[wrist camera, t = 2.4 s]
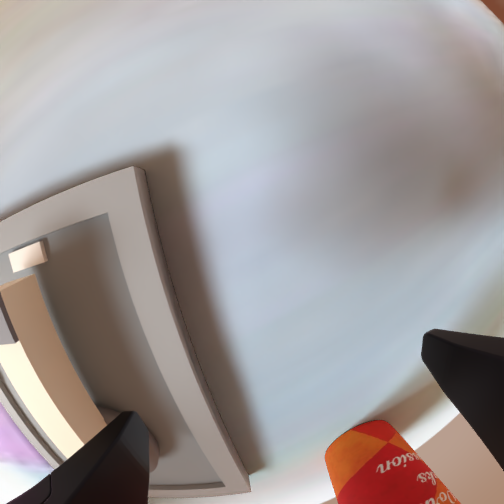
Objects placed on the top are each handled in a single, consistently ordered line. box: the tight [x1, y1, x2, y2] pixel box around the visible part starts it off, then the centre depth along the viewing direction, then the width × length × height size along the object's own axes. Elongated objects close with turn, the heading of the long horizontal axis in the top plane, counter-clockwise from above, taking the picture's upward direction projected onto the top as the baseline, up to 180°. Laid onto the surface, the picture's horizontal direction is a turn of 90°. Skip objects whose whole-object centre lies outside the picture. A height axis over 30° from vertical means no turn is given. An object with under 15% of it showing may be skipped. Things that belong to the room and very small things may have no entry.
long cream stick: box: [0, 274, 160, 473], centre depth 10 cm, size 14×6×4 cm, turn 12°
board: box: [0, 166, 251, 498], centre depth 12 cm, size 22×17×2 cm
